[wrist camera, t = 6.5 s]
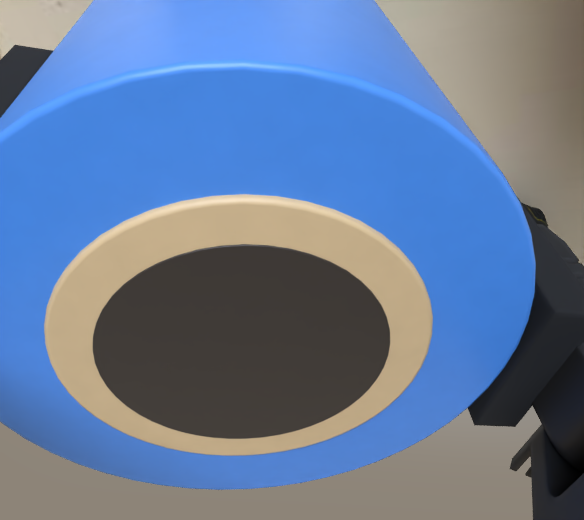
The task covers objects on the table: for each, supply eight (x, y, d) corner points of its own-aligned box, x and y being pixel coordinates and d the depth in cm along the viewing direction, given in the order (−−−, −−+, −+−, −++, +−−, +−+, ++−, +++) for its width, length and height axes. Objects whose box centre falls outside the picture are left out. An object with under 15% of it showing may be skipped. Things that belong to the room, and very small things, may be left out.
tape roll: (50, -112, 9) (-216, -10, 4) (456, -29, 11) (684, 131, 5) (81, 235, 14) (-17, 495, 9) (356, 261, 16) (420, 499, 10)
